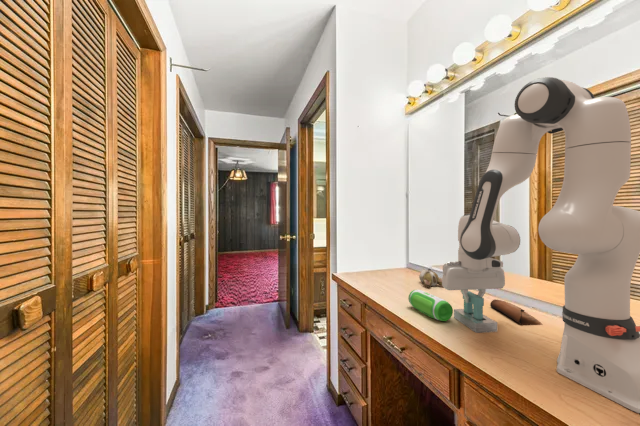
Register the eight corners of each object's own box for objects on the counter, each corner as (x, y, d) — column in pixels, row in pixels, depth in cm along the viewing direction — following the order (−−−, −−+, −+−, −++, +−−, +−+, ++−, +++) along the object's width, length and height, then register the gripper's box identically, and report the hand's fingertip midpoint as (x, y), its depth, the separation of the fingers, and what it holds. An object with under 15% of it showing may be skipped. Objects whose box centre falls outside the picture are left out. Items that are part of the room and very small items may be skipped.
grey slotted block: (497, 331, 90) (497, 322, 90) (475, 332, 89) (475, 323, 89) (472, 316, 103) (472, 308, 102) (454, 317, 102) (453, 309, 102)
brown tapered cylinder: (546, 325, 94) (535, 307, 94) (527, 336, 94) (516, 318, 94) (511, 307, 112) (502, 292, 112) (496, 316, 112) (487, 301, 112)
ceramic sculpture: (432, 265, 154) (448, 272, 140) (432, 280, 155) (448, 289, 140) (414, 266, 153) (428, 273, 138) (414, 282, 154) (427, 291, 139)
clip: (483, 319, 92) (483, 298, 92) (476, 320, 92) (476, 298, 92) (469, 310, 100) (469, 291, 100) (462, 311, 100) (462, 291, 100)
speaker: (454, 321, 99) (454, 300, 99) (436, 324, 97) (436, 302, 97) (423, 305, 116) (422, 287, 116) (407, 307, 114) (407, 289, 114)
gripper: (447, 263, 92) (447, 306, 92) (508, 262, 93) (508, 304, 93) (438, 260, 98) (438, 300, 99) (495, 258, 100) (495, 298, 100)
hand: (473, 301), depth 96 cm, fingers closed on clip, 2 cm apart
